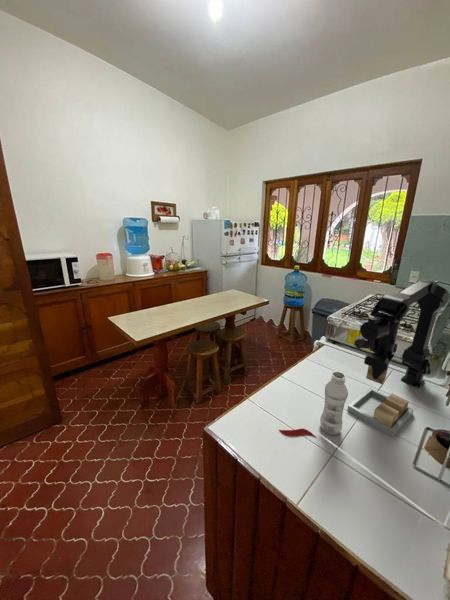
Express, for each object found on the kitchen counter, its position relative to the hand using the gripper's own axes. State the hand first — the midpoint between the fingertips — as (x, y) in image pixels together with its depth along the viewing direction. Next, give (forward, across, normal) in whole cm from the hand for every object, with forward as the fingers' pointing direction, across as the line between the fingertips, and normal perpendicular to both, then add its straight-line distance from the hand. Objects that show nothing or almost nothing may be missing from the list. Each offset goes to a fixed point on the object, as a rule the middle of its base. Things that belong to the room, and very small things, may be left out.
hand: (376, 375), depth 85 cm
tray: (+12, +3, +4) cm, 13 cm away
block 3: (+11, 0, +7) cm, 13 cm away
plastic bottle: (+13, +22, -6) cm, 26 cm away
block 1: (+1, 0, 0) cm, 1 cm away
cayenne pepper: (+13, +30, -13) cm, 35 cm away
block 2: (+11, +8, +6) cm, 15 cm away
